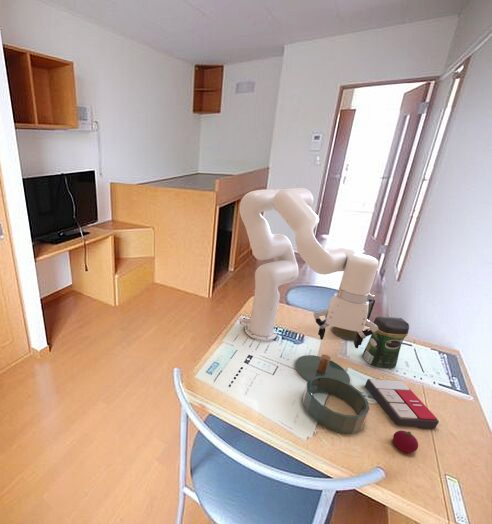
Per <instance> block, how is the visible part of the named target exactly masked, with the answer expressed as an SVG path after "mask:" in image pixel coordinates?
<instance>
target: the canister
mask: <svg viewBox="0 0 492 524" xmlns="http://www.w3.org/2000/svg"><path fill="white" fill-rule="evenodd" d="M368 302H369V307H368V314H367V319H368V320H370V318H371V314H372V312H373V309H374V306H375V304H376V300H375V298H374V299H369V300H368ZM331 328H332V329H331V330H332V332H333V334H334V335H336V336H338V337H339V338H341V339H344V340H347V341H353V342H354V340H355V337H356V334H357V333H358V332H356V331H351V330H347V329H343V328H338V327H334V326H332V327H331Z"/></svg>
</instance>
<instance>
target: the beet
mask: <svg viewBox="0 0 492 524" xmlns="http://www.w3.org/2000/svg"><path fill="white" fill-rule="evenodd" d="M392 440H393V444H394V446H395V447H396V448H397V450H398V451H399V452H401V453H403V454H406V455H407V454H408V455H410V454H412V453H415V452H416V451H417V450H418V448H419V441H418V439H417V438H416V436H414V434H413V433H412V432H411V431H406V430H397V431H395V433H394V434H393V435H392Z"/></svg>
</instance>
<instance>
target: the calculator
mask: <svg viewBox="0 0 492 524" xmlns="http://www.w3.org/2000/svg"><path fill="white" fill-rule="evenodd" d="M364 388H365V389H366V390H367V392H368V393H369V394H370V395H371V396H372V398H373V399H374V400H375V401H376V403H377V404H378V405H379V407H380V408H381V409H382V410H383V411H384V413H385V414H386V415H387V416H388V418H389V419H390V420H391V421H392V423H394V425H395V426H398V427H399V426H401V427H414V428H418V429H432V430H434V429H436V428H437V426H438V424H439V423H440V421H439V419H438V418H437V416H436V415H434V414H433V412H432V411H431V410H430V409H429V408H428V407H427V406H426V404H425V403H424V402H423V401H422V400H421V399H420V398H419V397H418V396H417V395H416V394H415V393H414V391H413V390H411V389H410V388H409V386H407V384H405V382H404V381H403V380H394V379H373V378H367V379H366V382H365V384H364Z"/></svg>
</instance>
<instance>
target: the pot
mask: <svg viewBox="0 0 492 524" xmlns="http://www.w3.org/2000/svg"><path fill="white" fill-rule="evenodd" d="M314 393H326V394H329V395H332V396H335V397H337V398H338V399H341V400H342V401H344V402H346V403H347V404H348V405H349V406H351V408H353V410H354V411H355V413H356V415H351V414H343V413H340V412H337V411H334V410H332V409H330V408H328V407H327V406H325V405H323V404H322V403H321V402H320V401H319V400H317V398H316V397H315V396H314V395H313V394H314ZM302 405H303V407H304V410H305V412H306V413H307V415H309V416H310V417H311V418H312V419H313V420H314V421H315V422H316V423H317V424H319V425H321V426H322V427H324V428H326V429H328V430H330V431H333V432H336V433H339V434H347V435H349V434H350V435H352V434H355V433H358V432H360V431H362V428H363V427H364V425H365V423H366V419H367V417H368V414H369V412H370V404H369V401H368V399H367V398H366V397H365V395H364V394H363V393H362V392H361V391H359V389H357V388H356V387H354V385H352V384H351V383H349V384H348V383H346V382H344V381H342V380H340V379H336V378H333V377H329V376H316V377H313V378H311V379H310V380H309V381H307V382H306V385H305V387H304V392H303V396H302Z"/></svg>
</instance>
